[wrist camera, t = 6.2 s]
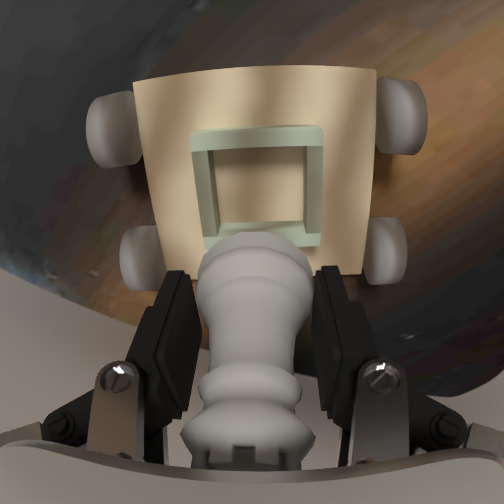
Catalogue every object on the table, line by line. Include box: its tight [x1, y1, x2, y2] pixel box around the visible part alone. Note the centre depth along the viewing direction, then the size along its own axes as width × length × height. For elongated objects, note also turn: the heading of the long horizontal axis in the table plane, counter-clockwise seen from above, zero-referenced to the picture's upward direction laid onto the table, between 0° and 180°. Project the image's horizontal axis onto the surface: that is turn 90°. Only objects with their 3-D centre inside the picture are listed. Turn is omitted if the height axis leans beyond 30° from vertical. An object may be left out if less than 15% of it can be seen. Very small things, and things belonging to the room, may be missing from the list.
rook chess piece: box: [180, 232, 316, 472], centre depth 9 cm, size 4×4×8 cm
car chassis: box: [86, 65, 428, 291], centre depth 21 cm, size 20×16×5 cm
